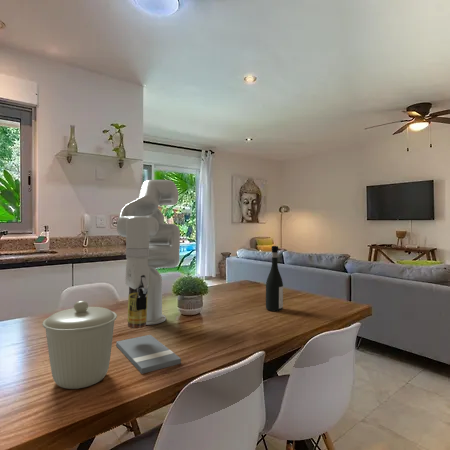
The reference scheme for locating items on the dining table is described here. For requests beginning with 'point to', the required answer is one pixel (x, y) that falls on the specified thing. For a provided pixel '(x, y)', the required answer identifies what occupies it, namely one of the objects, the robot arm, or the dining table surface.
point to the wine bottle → (274, 285)
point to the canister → (79, 344)
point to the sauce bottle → (135, 311)
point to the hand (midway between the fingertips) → (137, 306)
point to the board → (147, 353)
